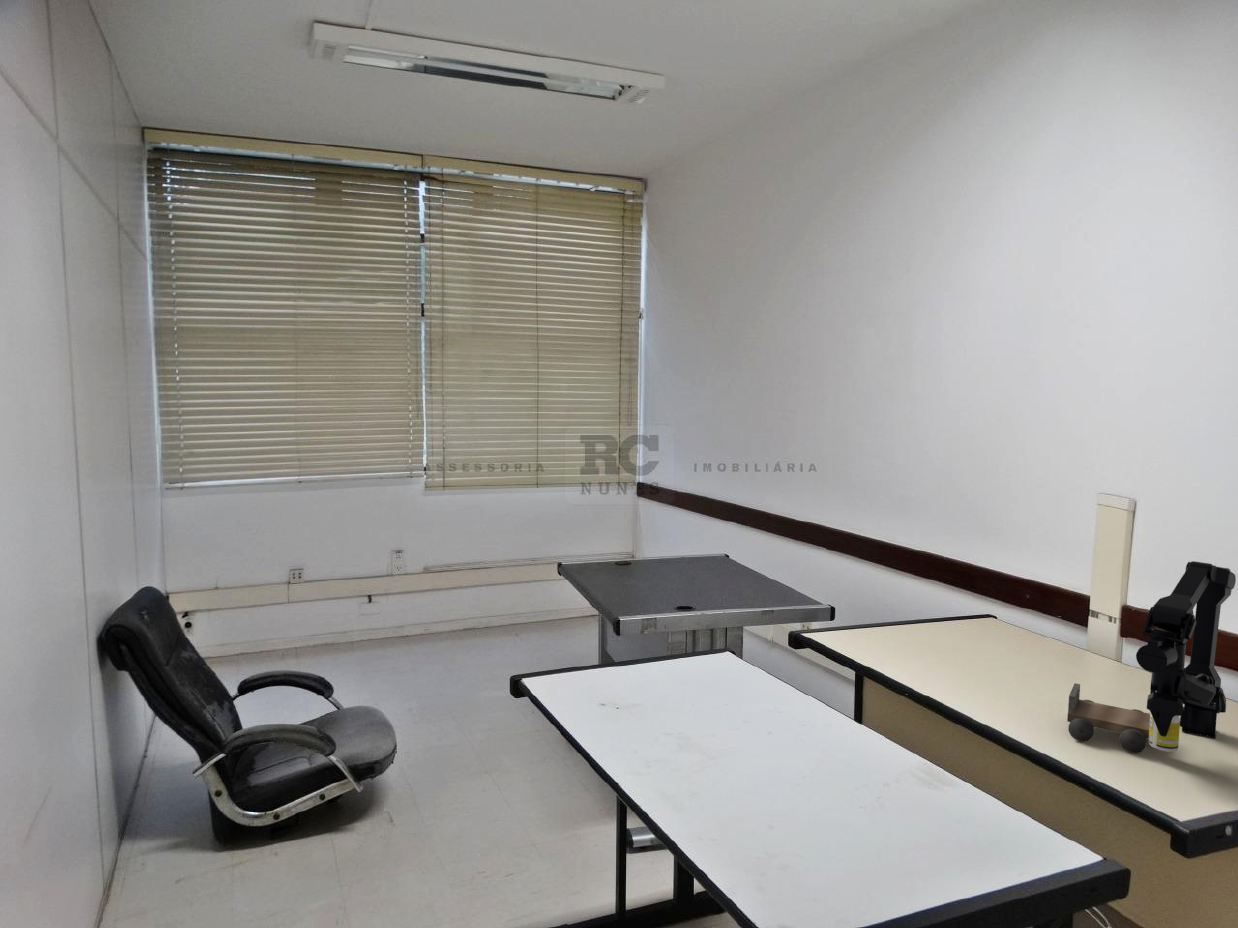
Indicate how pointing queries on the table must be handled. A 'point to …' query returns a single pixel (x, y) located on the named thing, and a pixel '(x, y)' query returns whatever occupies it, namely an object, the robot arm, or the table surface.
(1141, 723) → the trolley
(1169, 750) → the supplement bottle
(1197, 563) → the robot arm
